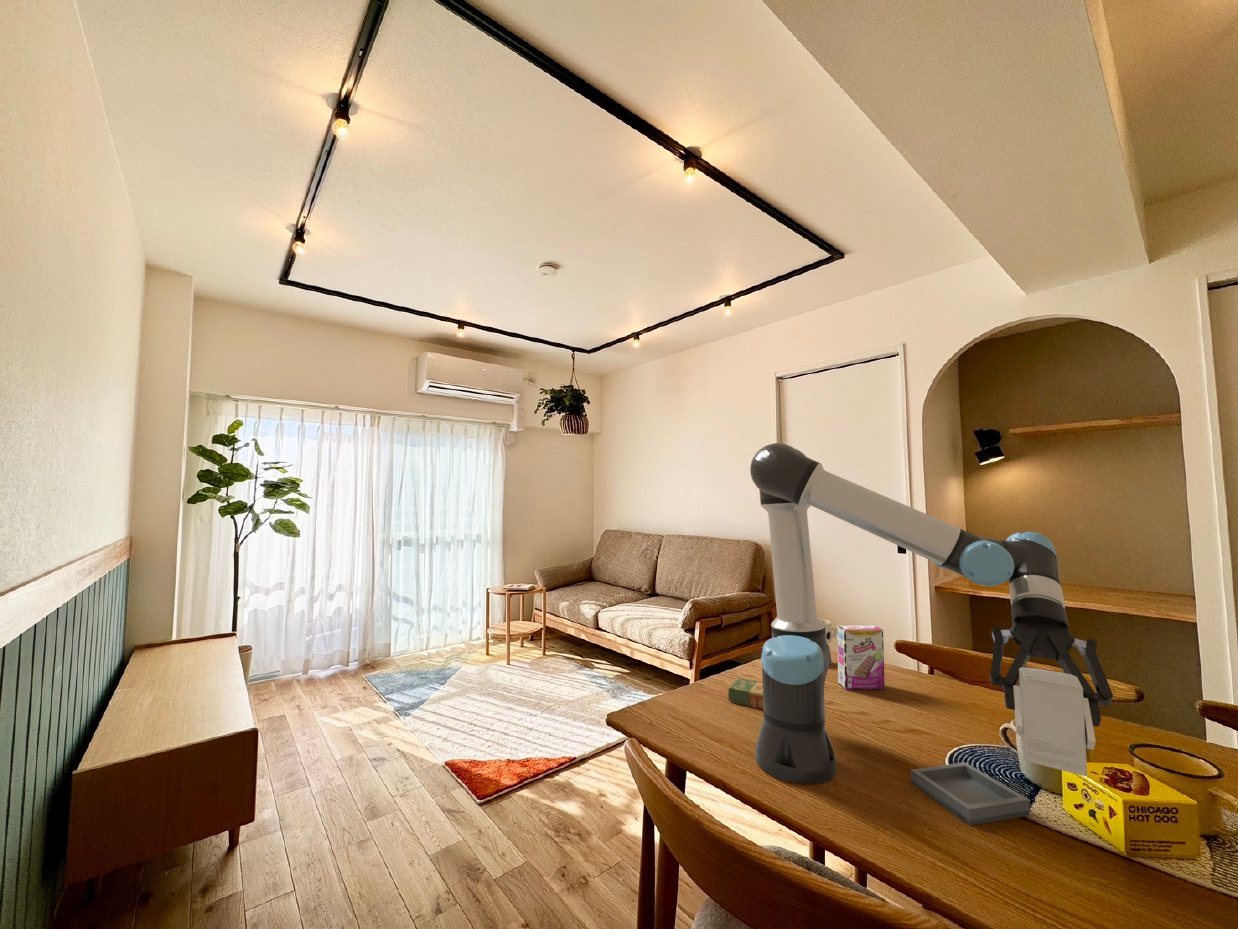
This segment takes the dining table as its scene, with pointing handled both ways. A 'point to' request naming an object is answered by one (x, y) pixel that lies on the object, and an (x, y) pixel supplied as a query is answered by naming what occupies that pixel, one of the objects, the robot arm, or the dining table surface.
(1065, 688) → the supplement box
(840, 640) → the candy bar box
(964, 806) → the holder tray
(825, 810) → the dining table surface
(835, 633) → the character mug
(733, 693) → the carton
